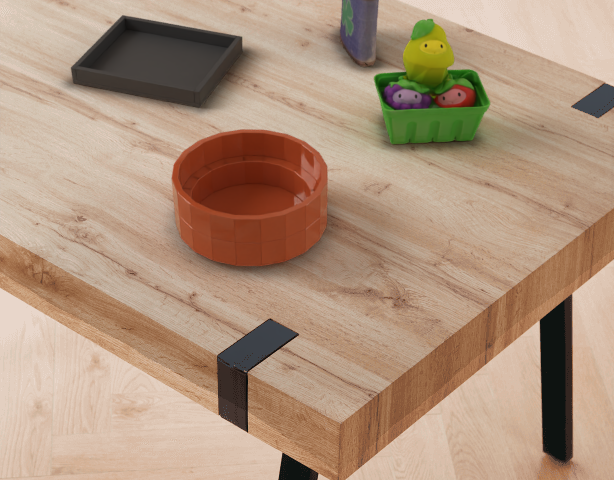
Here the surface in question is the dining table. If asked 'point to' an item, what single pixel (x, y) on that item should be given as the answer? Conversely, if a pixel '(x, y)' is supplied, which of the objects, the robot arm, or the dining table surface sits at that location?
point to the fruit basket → (430, 92)
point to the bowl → (250, 197)
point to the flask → (359, 30)
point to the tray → (158, 60)
